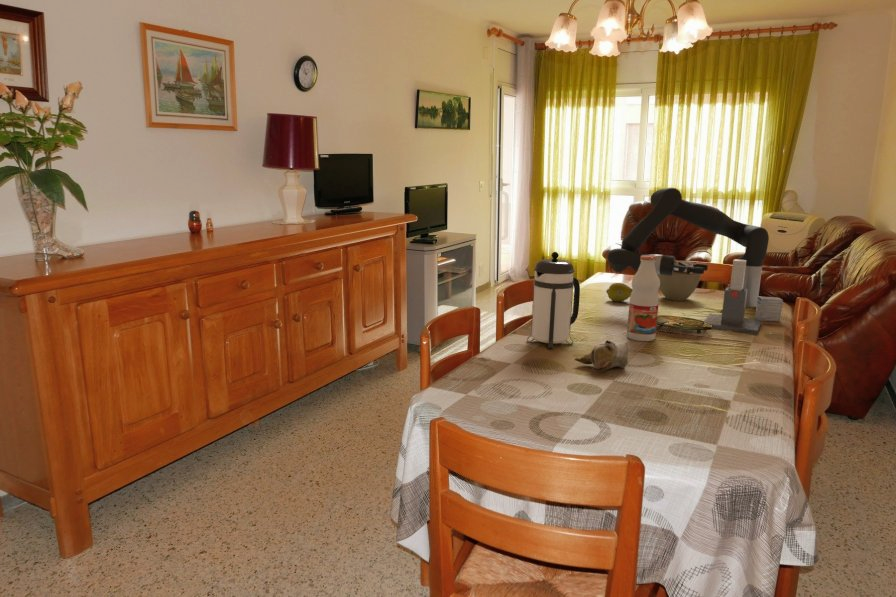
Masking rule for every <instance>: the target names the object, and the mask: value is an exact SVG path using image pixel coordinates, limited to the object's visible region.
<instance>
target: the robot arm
mask: <svg viewBox="0 0 896 597" xmlns="http://www.w3.org/2000/svg"><path fill="white" fill-rule="evenodd" d="M650 196H651V197H650V205H651V206H652V210H651V211H650V212H649V213H648V214H647V215H645V217H643V218H642V219H641V220H640V221H639V222H638V223H636V224H635V225H634V226H633V227H632V228H631V229H630V231H629V232H628V233H627V234H626V236H625V237H624V238H623V239H622V241H621V247H620V248H613V249H612V250H610V251H609V252H608V254H607V261H608V263H609V265H610V268H611V269H612V270H613V271H614V272H617V273H620V272H623V271H625V270H627V268H631V269H632V270H633V271H635V272H637V271H638V269H639V266H640V264H641V261H640V257H641V256H642V255H650V256H655V257H656V260H655V263H654V264H655V269H656V273H657V274H660V275H669V276H672V275H673V273H674V272H677V273H686V274H691V273H698V274H701V275H703V274H704V273H705V272H706V271H708V268H709V265H708V264H705V263H704V264H702V263H697V262H696V261H687V260H686V261H684V260H680V261H678V262H677V261H676V257H675V255H665V254H656V253H655V254H653V253H652V254H649V253H638V251H639V250H640V248H641V247H642V246H643V244H644V243H645V242H646V241H647V239H648V238H649V237H650V236H651V235H652V234H653V232H654V231H655V230H656V229H657V228H658V227H659V226H660V225H661V224H662V222H664V221H665V220H666V219H667V218H668V217H669V216H674V217H677V218H679V219H681V220H684V221H685V222H687V223H690V224H691V225H694V226H696V227H698V228H700V229H702V230H704V231H706V232H710V233H713V234H716V235H719V236H723V237H726V238H728V239H730V240H732V241H733V242H735V243H737V244H738V245H741V246H742V247H744V248H745V252H744V254H743V255H742V256H741V255H740V257H738V260H746V268H745V276H744V284H743V289H748V291H747V299H746V307H745V308H756V305H757V298H758V297H759V294H760V285H761V277H762V270H763V264H764V261H765V259H766V258H767V251H768V247H769V239H770V237H769V233H768V230H767V229H766V228H764V227H762V226H756V225H752V224H747V223H746V224H745V223H743V222H739V221H737V220H734V219H732V218H731V217H730V216H729V215H727V214H726V213H725V212H723V211H721V210H720V209H717V208H715V207H713V206H711V205H707V204H702V203H699V202H694V201H693V202H692V201H688V200H685V199H683V197H682V193H681V191H680V190H679V189H677V188H676V187H664V188H660V189H658V190H655V191H654V192H653V193H652V194H651V195H650Z"/></svg>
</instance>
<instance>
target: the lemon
mask: <svg viewBox="0 0 896 597" xmlns="http://www.w3.org/2000/svg"><path fill="white" fill-rule="evenodd" d="M605 291H606V292H605V293H607V294H606V295H607V297H608V298H609V300H611V301H613V302H618V303H620V302H623V301H626V300H628V299H630V295H631V293H632V287H630V286H629V285H627V284H626V283H621V282H615V283H614V282H613V283H612V284H610V285H609V288H607V289H606V290H605Z"/></svg>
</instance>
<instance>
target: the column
mask: <svg viewBox="0 0 896 597" xmlns="http://www.w3.org/2000/svg"><path fill="white" fill-rule="evenodd" d="M745 268H746V260H739V258H737V259H736V258H735V259H733V260H732V269H731V278H730V286H729V287H730V290H733V291H742V292H743V284H744V276H745Z"/></svg>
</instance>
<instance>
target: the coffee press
mask: <svg viewBox="0 0 896 597" xmlns="http://www.w3.org/2000/svg"><path fill="white" fill-rule="evenodd" d="M559 256H560V255H559V253H558V252H557V251H553V252H552V253H551V258H544V259H541V260H539V261H537V262H536V264H535V265H534V266H533V271H534V278H533V288H532V290H533V292H532V296H533V299H532V308H531V309H532V310H531V311H532V312H531V315H532V318H531V328H530V333H529V335H528V337H526V343H529V344H530V343H533V341H534V340H535V341H538V342H540V343H544V344H547V347H548V350H554V349H553V348H554V344H562V343H564V342H566V343H567V344H568V345H570V346H572V345H574V341H573V339H572V337H571V325H573V324H574V323H575V322H576V320H577V318H578V315H579V310H580V296H581V295H580V294H581V286H580V285H581V284H580V282H579V280H578V279H577V278H575V277H574V274H575V271H576V270H575V267H574V265H573V264H572V262H570V261H568V260H565V259H560V258H559ZM531 337H532V339H531V340H529V339H530V338H531ZM569 338H570V340H571V343H570V342H569V341H568V340H569Z"/></svg>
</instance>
